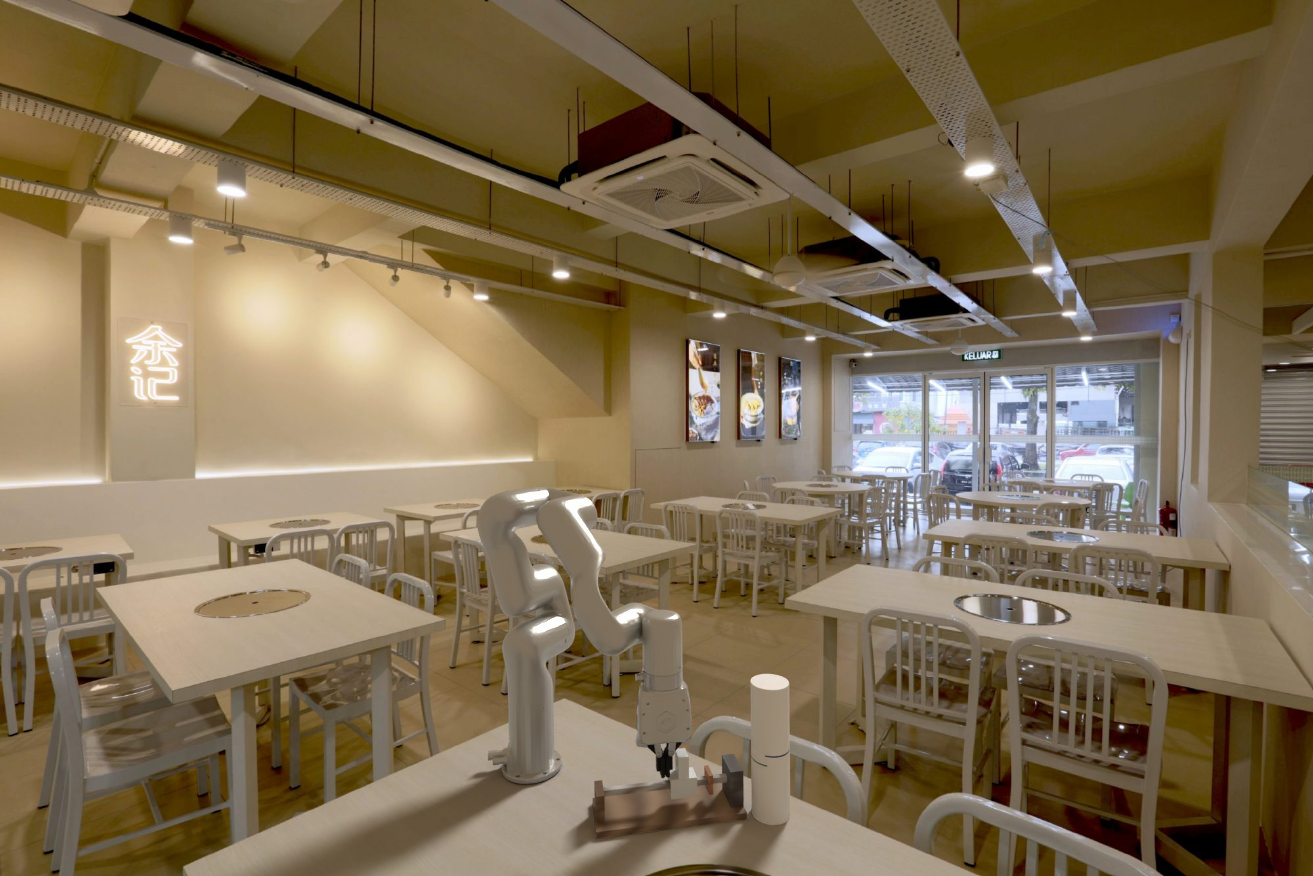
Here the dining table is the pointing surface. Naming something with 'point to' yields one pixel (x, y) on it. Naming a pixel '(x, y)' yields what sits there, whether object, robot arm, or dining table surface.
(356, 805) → the dining table surface
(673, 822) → the rail
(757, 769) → the cylindrical container
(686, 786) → the sleeve
